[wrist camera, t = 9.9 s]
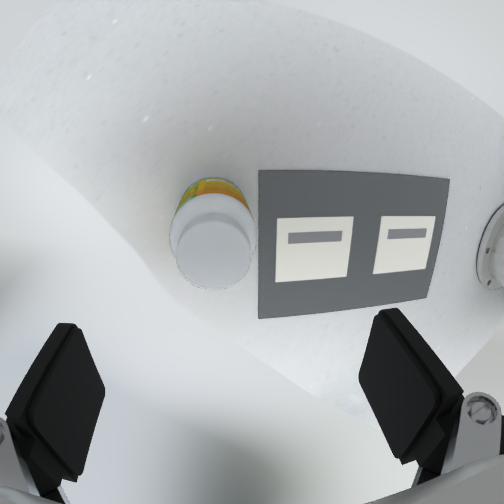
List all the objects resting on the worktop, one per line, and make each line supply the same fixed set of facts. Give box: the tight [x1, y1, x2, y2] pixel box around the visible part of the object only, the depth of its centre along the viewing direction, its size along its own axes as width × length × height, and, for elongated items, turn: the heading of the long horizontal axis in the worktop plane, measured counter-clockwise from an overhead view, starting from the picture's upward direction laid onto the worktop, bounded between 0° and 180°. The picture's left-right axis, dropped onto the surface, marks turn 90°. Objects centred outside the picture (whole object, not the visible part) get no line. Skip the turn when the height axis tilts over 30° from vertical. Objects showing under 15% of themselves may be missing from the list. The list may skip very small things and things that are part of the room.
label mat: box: [258, 170, 450, 319], centre depth 28 cm, size 20×14×1 cm
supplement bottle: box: [169, 177, 257, 290], centre depth 20 cm, size 5×5×10 cm
